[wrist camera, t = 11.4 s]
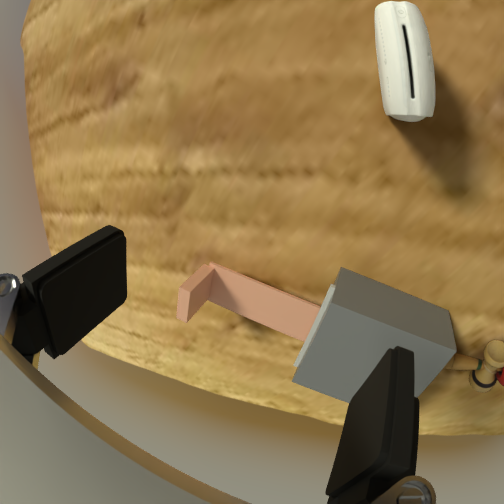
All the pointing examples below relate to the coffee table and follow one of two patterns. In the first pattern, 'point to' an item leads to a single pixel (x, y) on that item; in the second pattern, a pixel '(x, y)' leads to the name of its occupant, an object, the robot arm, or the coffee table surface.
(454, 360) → the kendama
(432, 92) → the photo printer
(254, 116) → the coffee table surface
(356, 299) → the block
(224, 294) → the pink l-shaped bracket
